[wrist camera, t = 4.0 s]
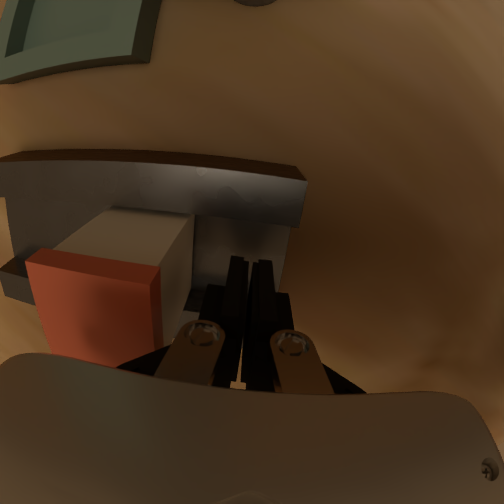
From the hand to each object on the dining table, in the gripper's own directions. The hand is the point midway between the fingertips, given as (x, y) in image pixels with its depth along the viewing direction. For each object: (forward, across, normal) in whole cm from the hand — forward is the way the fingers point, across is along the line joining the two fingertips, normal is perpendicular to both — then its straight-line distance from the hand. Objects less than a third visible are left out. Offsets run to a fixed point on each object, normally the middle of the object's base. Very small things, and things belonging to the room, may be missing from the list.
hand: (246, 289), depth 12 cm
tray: (+5, +12, -21) cm, 25 cm away
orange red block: (+3, +5, 0) cm, 6 cm away
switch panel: (+5, +7, 0) cm, 9 cm away
